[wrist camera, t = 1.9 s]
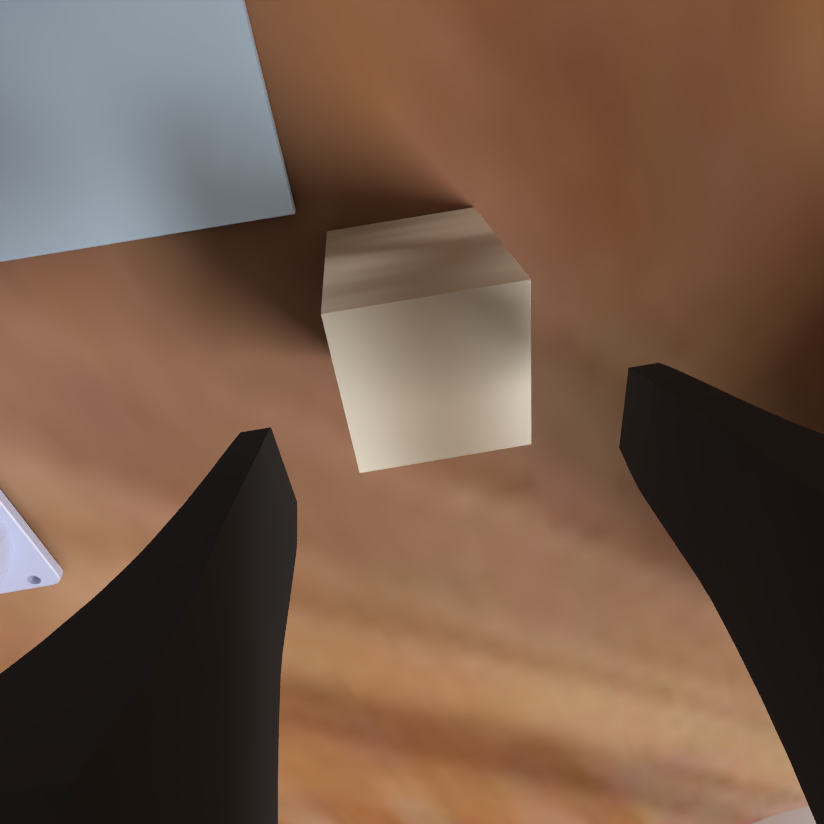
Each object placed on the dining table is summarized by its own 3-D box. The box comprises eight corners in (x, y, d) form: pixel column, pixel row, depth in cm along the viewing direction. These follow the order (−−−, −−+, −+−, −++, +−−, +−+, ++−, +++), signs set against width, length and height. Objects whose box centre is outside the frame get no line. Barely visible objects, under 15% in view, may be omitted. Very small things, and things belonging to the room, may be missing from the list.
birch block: (355, 360, 19) (359, 472, 14) (326, 230, 16) (320, 314, 11) (482, 339, 19) (531, 443, 14) (474, 206, 16) (530, 279, 12)
